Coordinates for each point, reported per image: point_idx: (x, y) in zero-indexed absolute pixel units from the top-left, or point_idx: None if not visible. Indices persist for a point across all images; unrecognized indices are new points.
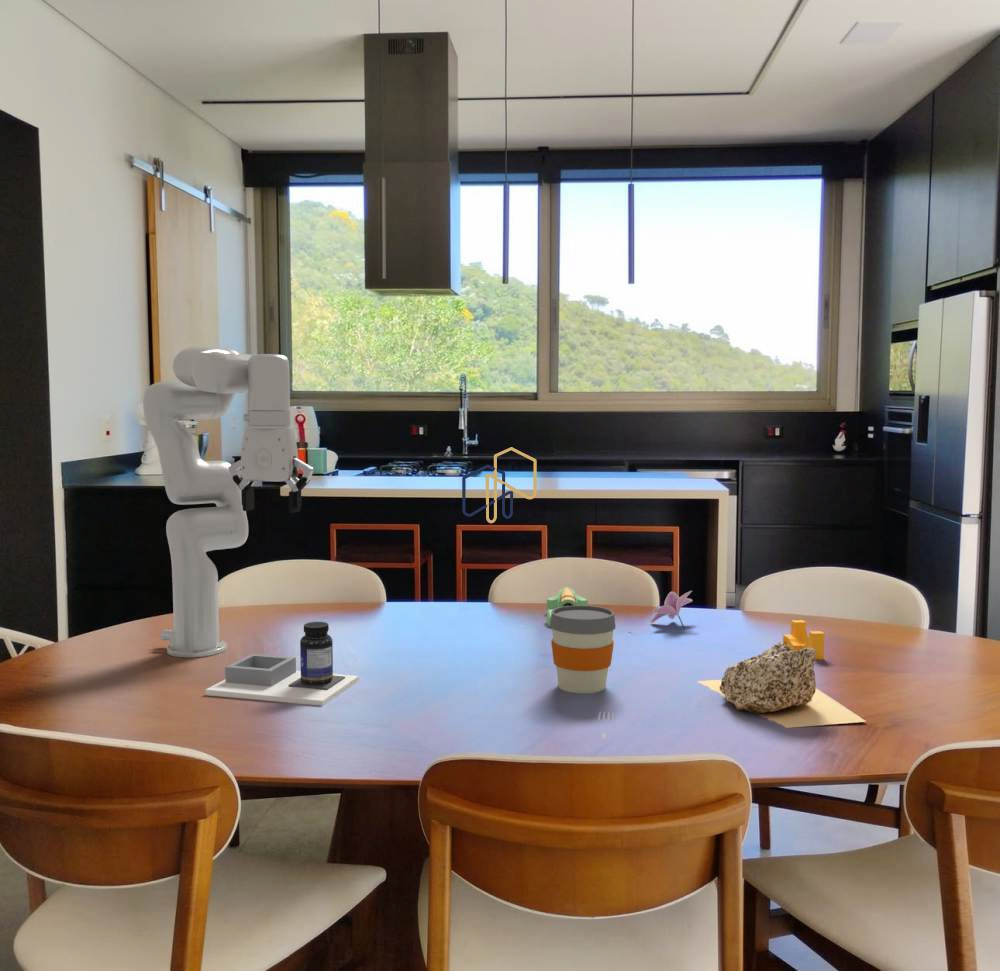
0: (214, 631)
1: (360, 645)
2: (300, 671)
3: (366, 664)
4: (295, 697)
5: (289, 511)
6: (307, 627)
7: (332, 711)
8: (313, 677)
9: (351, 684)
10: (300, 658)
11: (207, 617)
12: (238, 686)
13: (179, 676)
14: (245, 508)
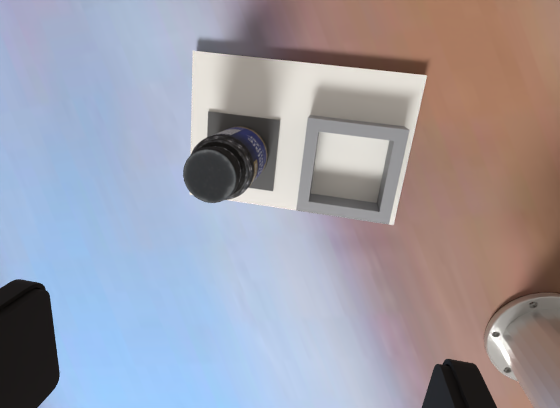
0: (517, 353)
1: (262, 372)
2: (292, 206)
3: (217, 280)
4: (244, 59)
5: (41, 290)
6: (218, 151)
7: (174, 34)
8: (233, 127)
9: None
10: (257, 150)
11: (544, 365)
12: (370, 105)
13: (519, 182)
14: (452, 372)
